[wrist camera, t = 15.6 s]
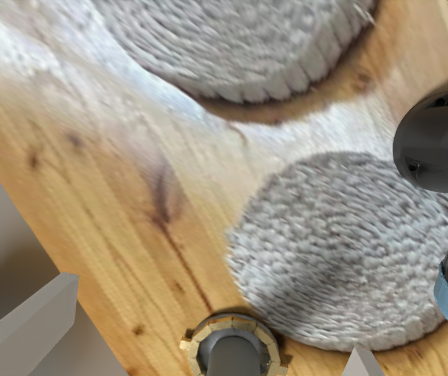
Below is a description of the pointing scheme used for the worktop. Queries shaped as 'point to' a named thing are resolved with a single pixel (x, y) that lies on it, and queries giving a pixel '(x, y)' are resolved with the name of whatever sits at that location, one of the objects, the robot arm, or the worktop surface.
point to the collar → (233, 327)
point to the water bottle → (233, 358)
